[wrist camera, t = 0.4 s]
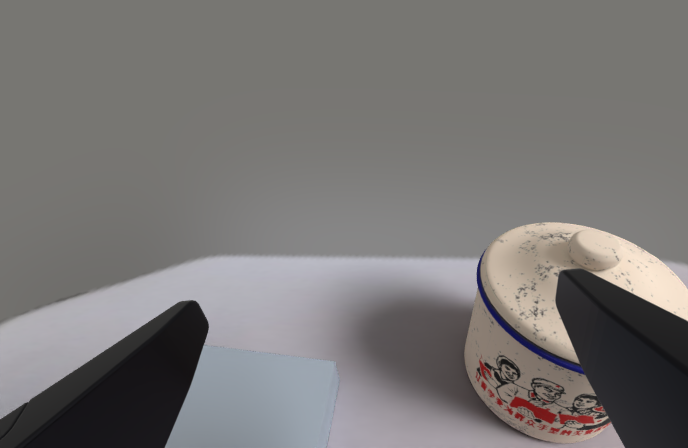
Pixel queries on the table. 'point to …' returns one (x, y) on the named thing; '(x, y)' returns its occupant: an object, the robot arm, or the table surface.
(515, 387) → the teacup with lid
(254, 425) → the panel
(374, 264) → the table surface
